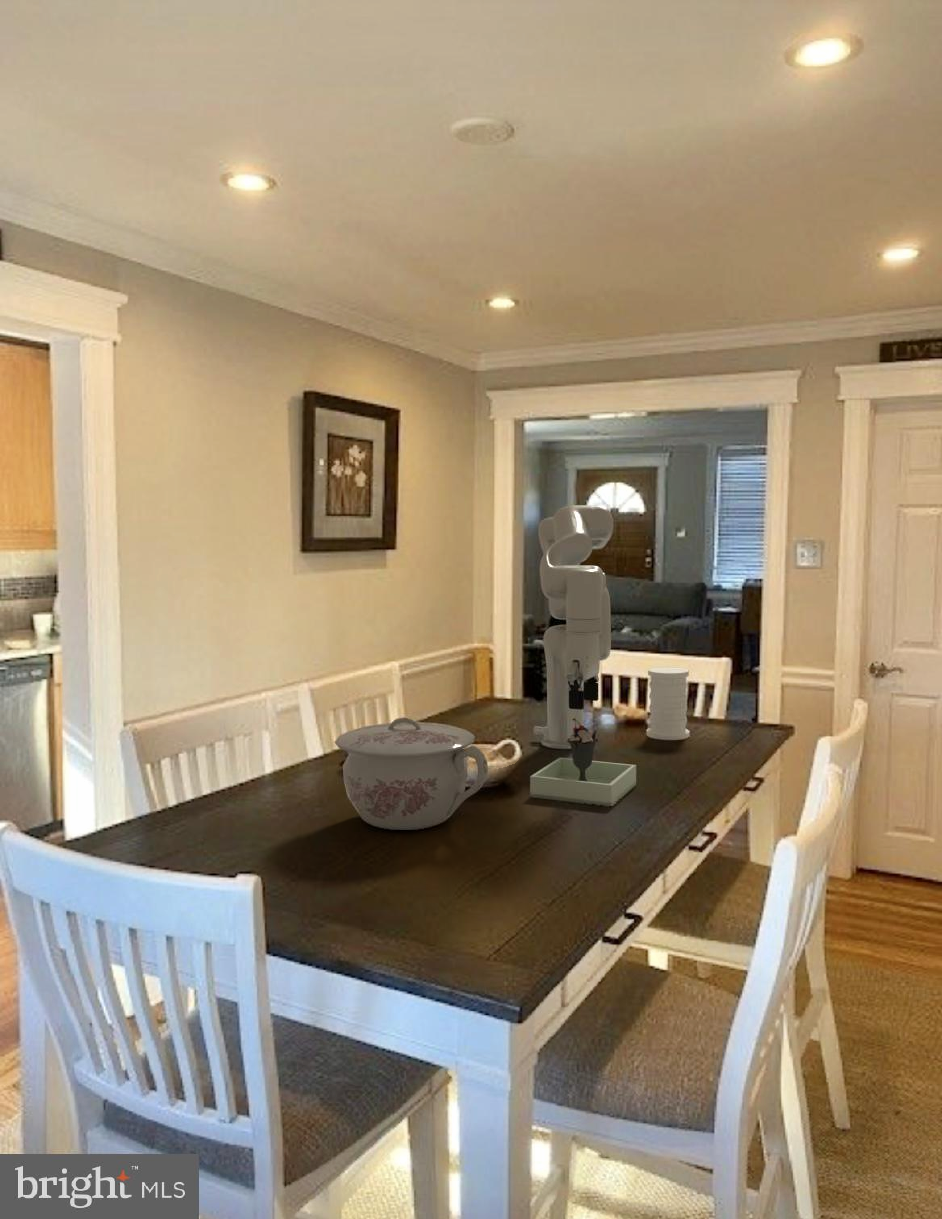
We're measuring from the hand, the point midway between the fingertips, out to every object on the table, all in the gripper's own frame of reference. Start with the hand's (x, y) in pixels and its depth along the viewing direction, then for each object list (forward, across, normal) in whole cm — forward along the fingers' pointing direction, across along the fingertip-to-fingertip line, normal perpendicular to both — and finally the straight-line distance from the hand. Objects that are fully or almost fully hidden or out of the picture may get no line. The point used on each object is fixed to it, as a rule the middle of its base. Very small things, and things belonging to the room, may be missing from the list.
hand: (583, 704), depth 208 cm
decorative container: (+20, -60, +3) cm, 64 cm away
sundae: (+18, -1, -1) cm, 18 cm away
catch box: (+19, +1, 0) cm, 19 cm away
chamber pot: (+19, +35, -25) cm, 47 cm away
